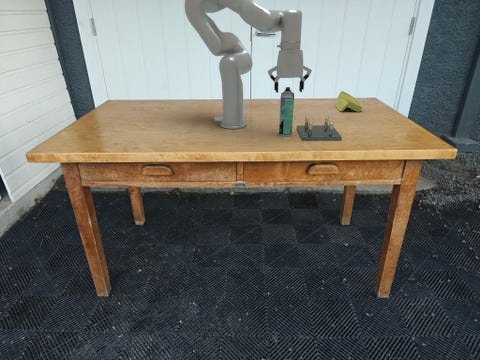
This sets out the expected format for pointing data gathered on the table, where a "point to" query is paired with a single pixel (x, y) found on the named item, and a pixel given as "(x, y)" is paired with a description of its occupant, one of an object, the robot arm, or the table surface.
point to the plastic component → (347, 102)
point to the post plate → (318, 131)
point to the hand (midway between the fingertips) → (288, 91)
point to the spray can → (286, 112)
